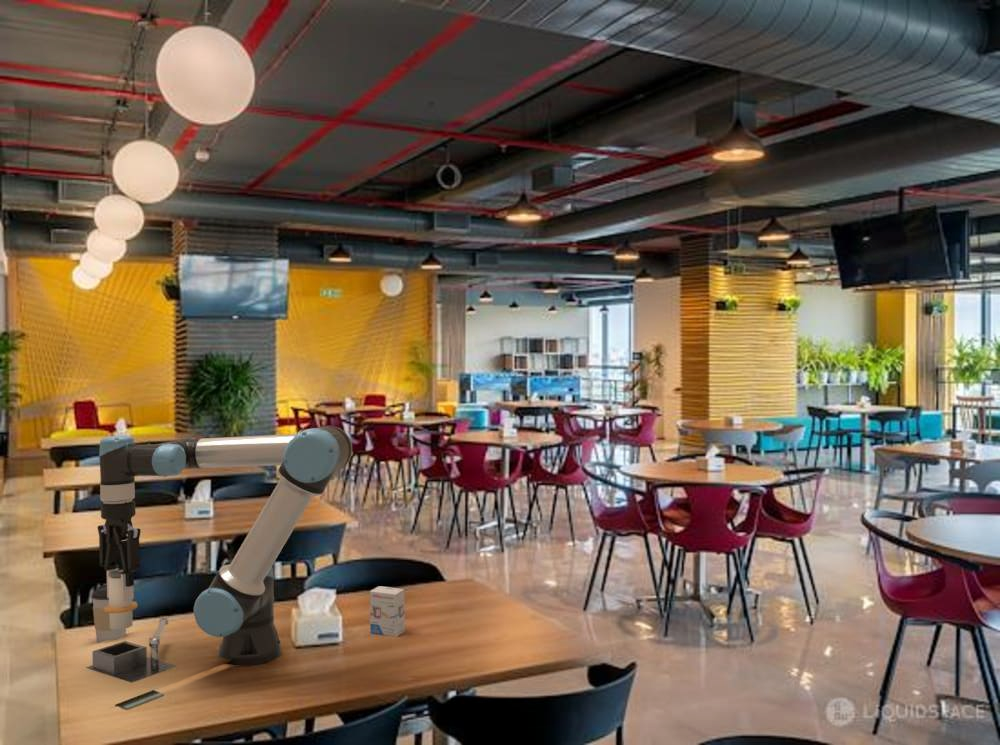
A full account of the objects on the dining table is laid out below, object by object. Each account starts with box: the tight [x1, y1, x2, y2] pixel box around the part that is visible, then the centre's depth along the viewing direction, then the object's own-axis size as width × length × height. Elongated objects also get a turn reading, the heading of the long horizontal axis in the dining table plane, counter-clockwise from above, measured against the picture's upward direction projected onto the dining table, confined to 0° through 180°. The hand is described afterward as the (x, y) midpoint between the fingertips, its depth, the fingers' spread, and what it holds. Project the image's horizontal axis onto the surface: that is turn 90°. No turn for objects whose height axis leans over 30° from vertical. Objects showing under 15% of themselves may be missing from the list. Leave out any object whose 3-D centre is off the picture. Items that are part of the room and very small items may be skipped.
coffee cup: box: [91, 584, 127, 644], centre depth 223 cm, size 9×9×15 cm
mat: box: [114, 689, 165, 710], centre depth 185 cm, size 9×9×1 cm
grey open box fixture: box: [85, 640, 178, 684], centre depth 200 cm, size 18×12×7 cm, turn 58°
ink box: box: [369, 585, 406, 637], centre depth 229 cm, size 9×5×12 cm, turn 68°
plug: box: [104, 569, 138, 630], centre depth 201 cm, size 7×7×13 cm
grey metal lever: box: [148, 617, 169, 647], centre depth 207 cm, size 18×2×2 cm, turn 14°
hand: (120, 597), depth 201 cm, fingers closed on plug, 5 cm apart
